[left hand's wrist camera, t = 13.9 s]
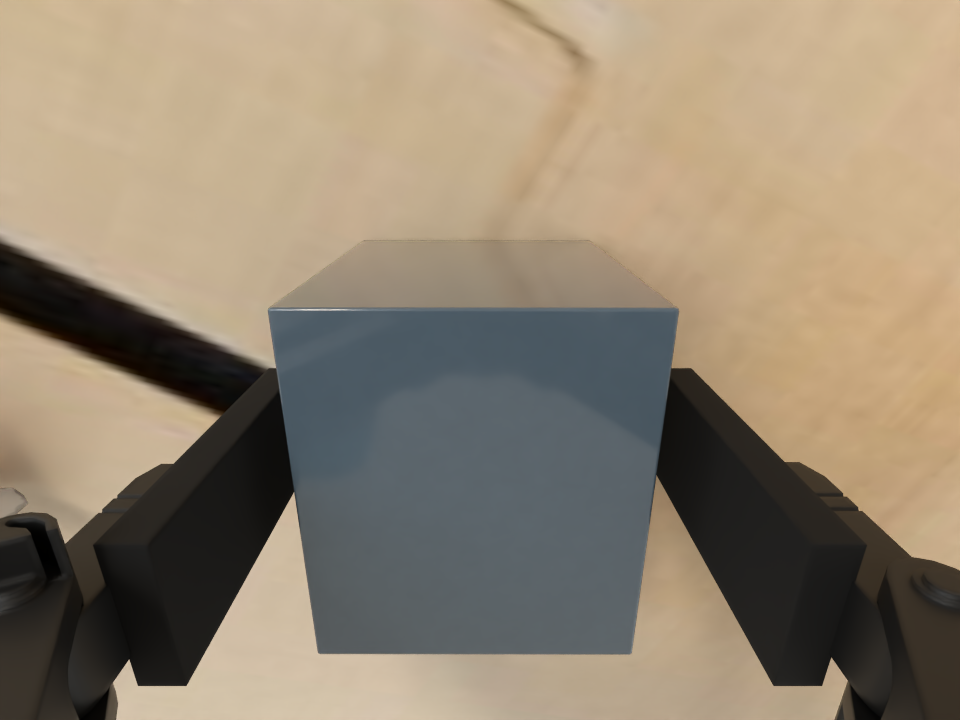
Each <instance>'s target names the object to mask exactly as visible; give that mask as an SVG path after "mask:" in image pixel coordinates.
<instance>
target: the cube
mask: <svg viewBox="0 0 960 720" xmlns="http://www.w3.org/2000/svg"><path fill="white" fill-rule="evenodd" d="M268 315H269V322H270V329H271V336H272V342H273V349H274V356H275V363H276V370H277V377H278V383H279V390H280V397H281V404H282V411H283V417H284V424H285V431H286V438H287V445H288V452H289V458H290V465H291V472H292V479H293V486H294V493H295V499H296V506H297V513H298V520H299V527H300V534H301V540H302V547H303V554H304V561H305V568H306V575H307V581H308V588H309V595H310V602H311V609H312V616H313V622H314V629H315V636H316V643H317V650H318V653H319V654H591V655H630V654H631V653H632V647H633V640H634V632H635V625H636V618H637V611H638V604H639V596H640V589H641V582H642V575H643V568H644V560H645V553H646V546H647V539H648V531H649V524H650V517H651V510H652V503H653V495H654V488H655V481H656V474H657V467H658V459H659V452H660V445H661V438H662V430H663V423H664V416H665V409H666V402H667V394H668V387H669V380H670V373H671V366H672V358H673V351H674V344H675V337H676V329H677V322H678V315H679V309H678V308H677V307H676V306H674V305H673V304H672V303H671V302H669V301H668V300H667V299H665V298H664V297H663V296H661V295H660V294H659V293H657V292H656V291H655V290H654V289H652V288H651V287H650V286H648V285H647V284H646V283H644V282H643V281H642V280H641V279H639V278H638V277H637V276H635V275H634V274H633V273H631V272H630V271H629V270H628V269H626V268H625V267H624V266H622V265H621V264H620V263H618V262H617V261H616V260H614V259H613V258H612V257H611V256H609V255H608V254H607V253H605V252H604V251H603V250H601V249H600V248H599V247H598V246H596V245H595V244H594V243H592V242H591V241H401V240H364V241H362V242H361V243H359V244H358V245H357V246H355V247H354V248H352V249H351V250H349V251H348V252H347V253H345V254H344V255H342V256H341V257H340V258H338V259H337V260H335V261H334V262H333V263H331V264H330V265H328V266H327V267H326V268H324V269H323V270H321V271H320V272H319V273H317V274H316V275H314V276H313V277H312V278H310V279H309V280H307V281H306V282H305V283H303V284H302V285H300V286H299V287H297V288H296V289H295V290H293V291H292V292H290V293H289V294H288V295H286V296H285V297H283V298H282V299H281V300H279V301H278V302H276V303H275V304H274V305H272V306H271V307H269V308H268Z"/></svg>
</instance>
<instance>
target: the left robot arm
mask: <svg viewBox="0 0 960 720" xmlns="http://www.w3.org/2000/svg"><path fill="white" fill-rule="evenodd" d="M656 475H657V477H658V478H659V480H660V482H661V484H662V486H663V487H664V489H665V491H666V493H667V495H668V496H669V498H670V500H671V502H672V504H673V505H674V507H675V509H676V511H677V513H678V514H679V516H680V518H681V520H682V522H683V523H684V525H685V527H686V529H687V531H688V532H689V534H690V536H691V538H692V540H693V541H694V543H695V545H696V547H697V549H698V550H699V552H700V554H701V556H702V558H703V559H704V561H705V563H706V565H707V567H708V568H709V570H710V572H711V574H712V576H713V577H714V579H715V581H716V583H717V585H718V587H719V588H720V590H721V592H722V594H723V596H724V597H725V599H726V601H727V603H728V605H729V606H730V608H731V610H732V612H733V614H734V615H735V617H736V619H737V621H738V623H739V624H740V626H741V628H742V630H743V632H744V633H745V635H746V637H747V639H748V641H749V642H750V644H751V646H752V648H753V650H754V651H755V653H756V655H757V657H758V659H759V660H760V662H761V664H762V666H763V668H764V669H765V671H766V673H767V675H768V677H769V678H770V680H771V682H772V684H773V686H822V684H823V681H824V678H825V675H826V672H827V669H828V666H829V662H830V659H831V657H832V659H833V660H834V661H835V663H836V664H837V666H838V667H839V669H840V670H841V671H842V673H843V674H844V676H845V677H846V679H847V680H848V682H847V685H846V688H845V691H844V694H843V697H842V700H841V703H840V706H839V708H838V711H837V714H836V717H835V720H960V571H959V570H957V569H955V568H953V567H950V566H947V565H944V564H941V563H938V562H935V561H932V560H926V559H920V558H914V557H911V556H910V555H909V554H908V553H907V552H906V551H905V550H904V549H902V548H901V547H900V546H899V545H898V544H897V543H896V542H895V541H894V540H893V539H892V538H891V537H890V536H888V535H887V534H886V533H885V532H884V531H883V530H882V529H881V528H880V527H879V526H878V525H877V524H875V523H874V522H873V521H872V520H871V519H870V518H869V517H868V516H867V515H866V514H865V513H864V512H863V511H859V510H858V507H857V506H856V505H855V504H854V503H853V502H852V501H851V500H850V499H849V498H847V497H843V493H842V492H841V491H840V490H839V489H838V488H837V487H836V486H835V485H833V484H832V483H831V482H830V481H829V480H828V479H827V478H826V477H825V476H823V475H821V474H819V473H818V472H816V471H814V470H812V469H810V468H809V467H807V466H805V465H803V464H802V463H800V462H784V461H783V460H782V459H781V458H780V457H779V456H778V455H777V454H776V453H775V452H774V451H773V450H772V449H771V448H770V447H769V446H768V445H767V444H766V443H765V442H764V441H763V440H762V439H761V438H760V437H759V436H758V435H757V434H756V433H755V432H754V431H753V430H752V429H751V428H750V427H749V426H748V425H747V424H746V423H745V422H744V421H743V420H742V419H741V418H740V417H739V416H738V415H737V414H736V413H735V412H734V411H733V410H732V409H731V408H730V407H729V406H728V405H727V404H726V403H725V402H724V401H723V400H722V399H721V398H720V397H719V396H718V395H717V394H716V393H715V392H714V391H713V390H712V389H711V388H710V387H709V386H708V385H707V384H706V383H705V382H704V381H703V380H702V379H701V378H700V377H699V376H698V375H697V374H696V373H695V372H694V371H693V370H692V369H691V368H671V373H670V380H669V387H668V394H667V402H666V409H665V416H664V423H663V430H662V438H661V445H660V452H659V459H658V467H657V474H656ZM293 493H294V486H293V479H292V472H291V465H290V458H289V452H288V445H287V438H286V431H285V424H284V417H283V411H282V404H281V397H280V390H279V383H278V377H277V370H276V368H269V369H268V370H267V371H266V372H265V373H264V374H263V375H262V376H261V377H260V378H259V379H258V380H257V381H256V382H255V383H254V384H253V385H252V386H251V387H250V388H249V389H248V390H247V391H246V392H245V393H244V394H243V395H242V396H241V397H240V398H239V399H238V400H237V401H236V402H235V403H234V404H233V405H232V406H231V407H230V408H229V409H228V410H227V411H226V412H225V413H224V414H223V415H222V416H221V417H220V418H219V419H218V420H217V421H216V422H215V423H214V424H213V425H212V426H211V427H210V428H209V429H208V430H207V431H206V432H205V433H204V434H203V435H202V436H201V437H200V438H199V439H198V440H197V441H196V442H195V443H194V444H193V445H192V446H191V447H190V448H189V449H188V450H187V451H186V452H185V453H184V454H183V455H182V456H181V457H180V458H179V459H178V460H177V461H176V462H175V463H174V464H160V465H159V466H157V467H155V468H153V469H151V470H150V471H148V472H146V473H144V474H143V475H141V476H139V477H137V478H135V479H134V480H133V481H132V482H131V483H130V484H129V485H128V486H127V487H126V488H125V489H124V490H123V491H122V492H120V493H119V494H118V497H117V499H113V500H112V501H111V502H110V503H109V504H108V505H107V506H106V507H104V508H103V509H102V513H98V514H97V515H96V516H95V517H94V518H93V519H92V520H91V521H89V522H88V523H87V524H86V525H85V526H84V527H83V528H82V529H81V530H80V531H79V532H78V533H77V534H76V535H74V536H73V537H72V538H71V539H70V540H69V541H68V542H67V543H66V544H65V543H64V540H63V537H62V534H61V531H60V528H59V525H58V523H57V520H56V519H55V518H54V517H52V516H50V515H49V514H46V513H33V512H30V513H23V514H16V515H10V516H6V517H3V518H0V720H116V715H117V707H118V702H117V696H116V691H115V688H114V685H113V682H114V680H115V679H116V677H117V676H118V674H119V673H120V672H121V670H122V669H123V667H124V666H125V664H126V663H127V661H128V660H129V659H130V662H131V665H132V669H133V672H134V675H135V678H136V681H137V684H138V686H187V684H188V682H189V680H190V678H191V677H192V675H193V673H194V671H195V669H196V668H197V666H198V664H199V662H200V660H201V659H202V657H203V655H204V653H205V651H206V650H207V648H208V646H209V644H210V642H211V641H212V639H213V637H214V635H215V633H216V632H217V630H218V628H219V626H220V624H221V623H222V621H223V619H224V617H225V615H226V614H227V612H228V610H229V608H230V606H231V605H232V603H233V601H234V599H235V597H236V596H237V594H238V592H239V590H240V588H241V587H242V585H243V583H244V581H245V579H246V578H247V576H248V574H249V572H250V570H251V568H252V567H253V565H254V563H255V561H256V559H257V558H258V556H259V554H260V552H261V550H262V549H263V547H264V545H265V543H266V541H267V540H268V538H269V536H270V534H271V532H272V531H273V529H274V527H275V525H276V523H277V522H278V520H279V518H280V516H281V514H282V513H283V511H284V509H285V507H286V505H287V504H288V502H289V500H290V498H291V496H292V495H293Z"/></svg>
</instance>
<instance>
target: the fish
mask: <svg viewBox="0 0 960 720" xmlns="http://www.w3.org/2000/svg"><path fill="white" fill-rule="evenodd" d="M27 504H28V502H27V500H26V499H25V497H24V495H22V494H21V493H19V492H18V491H17V490H15V489H14V488H0V518H3V517H6V516H10V515H15V514H17V513H18V512H19V511H20V510H21V509H22V508H23V507H24V506H26V505H27Z"/></svg>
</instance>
